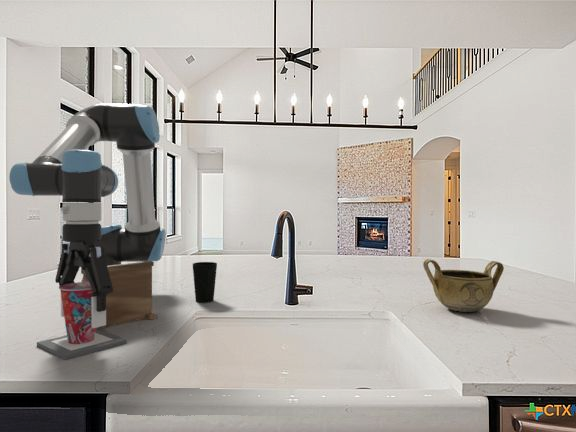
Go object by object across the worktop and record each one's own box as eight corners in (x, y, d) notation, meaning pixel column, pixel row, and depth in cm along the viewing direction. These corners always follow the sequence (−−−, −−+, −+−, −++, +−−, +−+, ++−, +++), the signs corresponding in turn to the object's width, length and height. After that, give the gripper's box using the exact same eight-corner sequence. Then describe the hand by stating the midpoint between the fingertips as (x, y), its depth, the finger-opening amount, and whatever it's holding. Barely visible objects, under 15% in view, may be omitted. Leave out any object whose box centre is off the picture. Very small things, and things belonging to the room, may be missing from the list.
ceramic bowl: (432, 316, 115) (432, 262, 115) (416, 302, 132) (416, 255, 132) (514, 318, 114) (515, 263, 114) (487, 304, 131) (488, 256, 131)
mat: (36, 345, 88) (36, 341, 88) (96, 331, 99) (96, 328, 99) (65, 359, 81) (65, 355, 81) (126, 342, 91) (126, 338, 91)
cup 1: (99, 345, 87) (99, 287, 86) (54, 348, 84) (54, 289, 84) (105, 332, 96) (105, 280, 95) (65, 334, 93) (64, 281, 93)
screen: (76, 329, 101) (76, 267, 100) (145, 314, 116) (145, 260, 115) (89, 334, 97) (89, 270, 97) (158, 317, 112) (158, 262, 112)
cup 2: (211, 304, 128) (211, 265, 128) (188, 302, 130) (188, 264, 130) (220, 298, 136) (220, 262, 136) (198, 297, 137) (198, 261, 137)
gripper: (38, 221, 94) (39, 314, 94) (94, 225, 79) (95, 336, 79) (72, 220, 100) (72, 308, 100) (130, 224, 85) (130, 327, 85)
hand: (82, 320), depth 90 cm, fingers open, 13 cm apart
